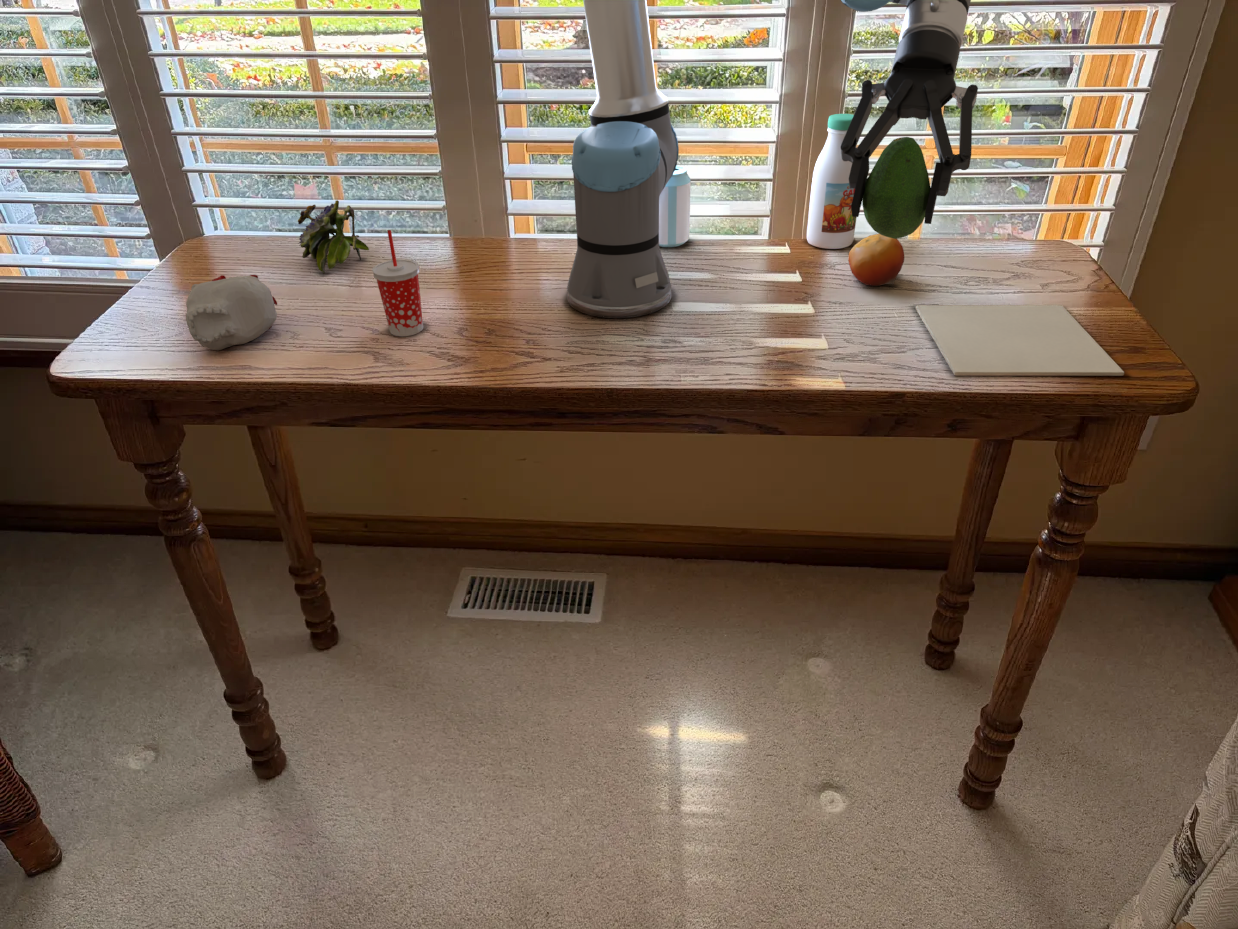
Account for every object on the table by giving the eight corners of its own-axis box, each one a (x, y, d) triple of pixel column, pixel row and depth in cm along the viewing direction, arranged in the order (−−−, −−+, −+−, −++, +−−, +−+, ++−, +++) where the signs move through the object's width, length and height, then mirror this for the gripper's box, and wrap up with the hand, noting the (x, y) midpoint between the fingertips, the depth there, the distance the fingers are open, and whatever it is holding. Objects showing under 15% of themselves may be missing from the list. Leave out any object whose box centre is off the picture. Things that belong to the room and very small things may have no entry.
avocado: (899, 222, 113) (914, 126, 106) (936, 242, 106) (954, 141, 100) (845, 231, 111) (857, 133, 104) (879, 251, 104) (894, 149, 98)
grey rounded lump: (198, 363, 111) (199, 331, 124) (288, 345, 115) (281, 316, 127) (175, 295, 107) (180, 269, 120) (270, 279, 111) (264, 255, 123)
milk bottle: (801, 247, 143) (813, 120, 132) (811, 232, 149) (823, 109, 137) (848, 252, 140) (865, 123, 129) (856, 236, 146) (873, 112, 135)
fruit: (917, 283, 125) (894, 235, 122) (865, 306, 129) (842, 261, 126) (912, 262, 132) (891, 217, 129) (863, 285, 135) (841, 241, 132)
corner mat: (954, 375, 105) (955, 372, 105) (915, 308, 122) (915, 305, 121) (1123, 375, 104) (1124, 372, 104) (1060, 307, 120) (1061, 304, 120)
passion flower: (324, 289, 146) (312, 220, 147) (385, 276, 145) (372, 206, 146) (292, 274, 135) (279, 199, 135) (357, 260, 134) (344, 185, 134)
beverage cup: (428, 336, 118) (412, 236, 110) (382, 340, 117) (363, 240, 109) (429, 317, 123) (413, 220, 115) (385, 321, 122) (366, 224, 114)
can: (645, 235, 149) (645, 164, 142) (686, 233, 150) (687, 162, 143) (650, 249, 143) (649, 176, 137) (692, 247, 144) (693, 174, 137)
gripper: (843, 23, 107) (802, 191, 104) (1023, 27, 100) (985, 207, 97) (845, 63, 114) (807, 221, 111) (1014, 69, 107) (979, 238, 104)
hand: (890, 214), depth 104 cm, fingers closed on avocado, 8 cm apart
